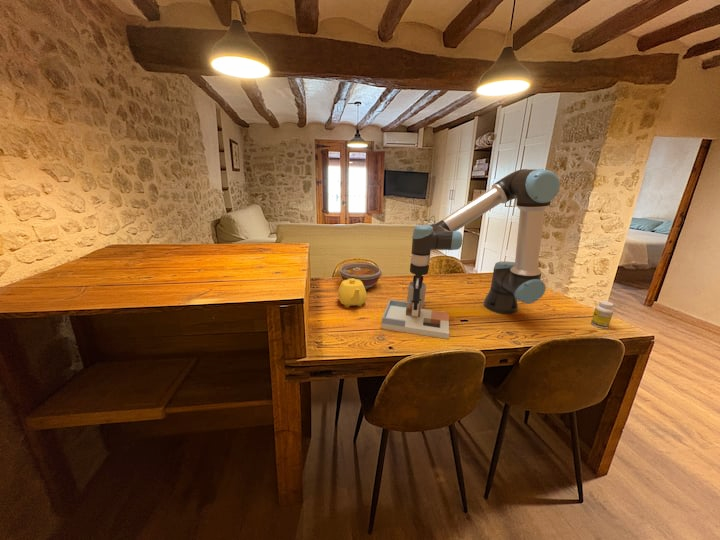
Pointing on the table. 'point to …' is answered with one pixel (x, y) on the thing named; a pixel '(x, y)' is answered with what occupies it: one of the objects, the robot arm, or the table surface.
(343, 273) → the bowl
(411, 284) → the mug
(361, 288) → the teapot
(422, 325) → the deck
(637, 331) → the table surface
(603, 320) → the pill bottle
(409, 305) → the walnut block
